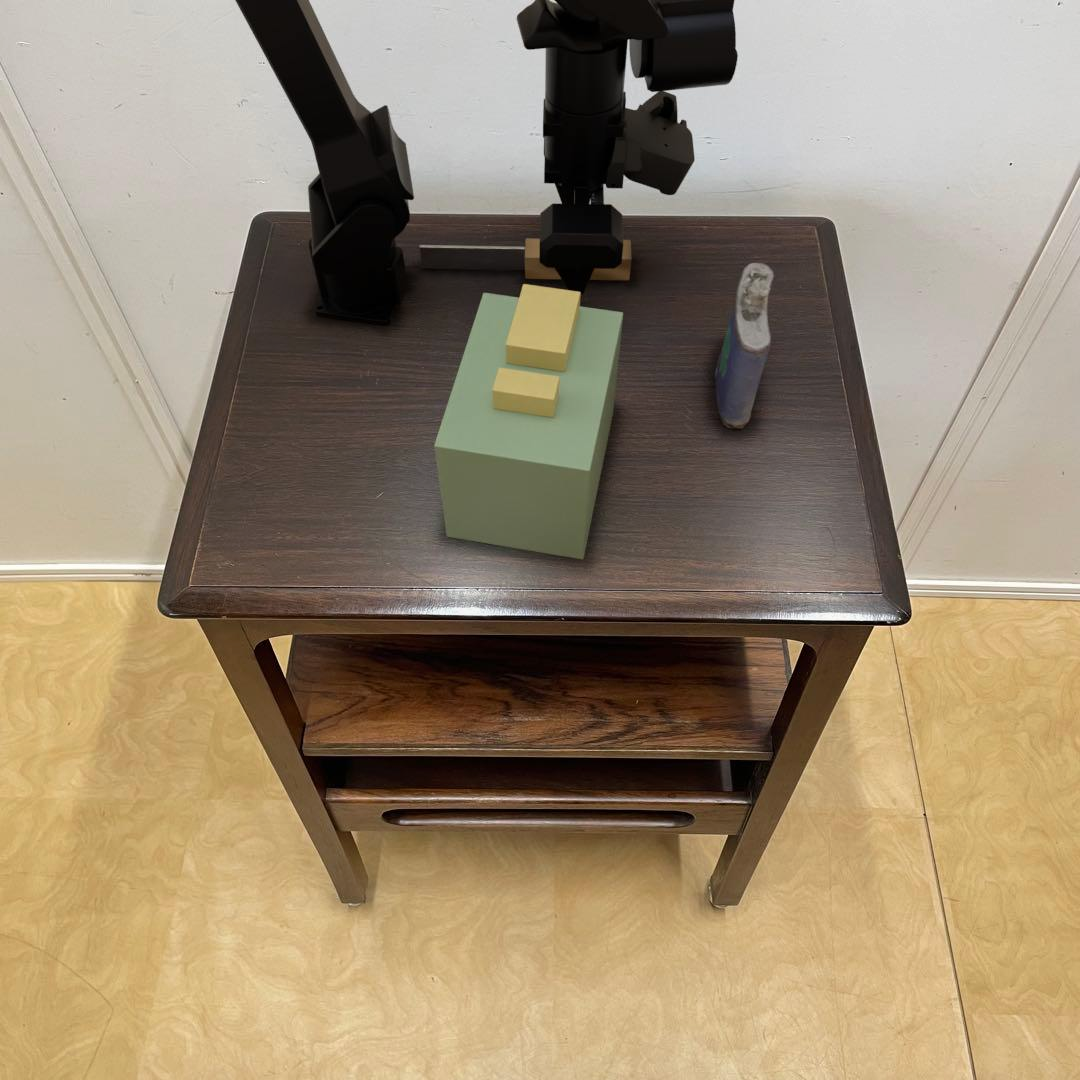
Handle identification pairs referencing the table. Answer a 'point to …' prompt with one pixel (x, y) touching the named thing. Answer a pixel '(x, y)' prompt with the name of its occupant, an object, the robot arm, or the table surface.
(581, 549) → the stand
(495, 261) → the knife
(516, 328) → the butter stick
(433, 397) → the table surface
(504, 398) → the butter pat
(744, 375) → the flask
